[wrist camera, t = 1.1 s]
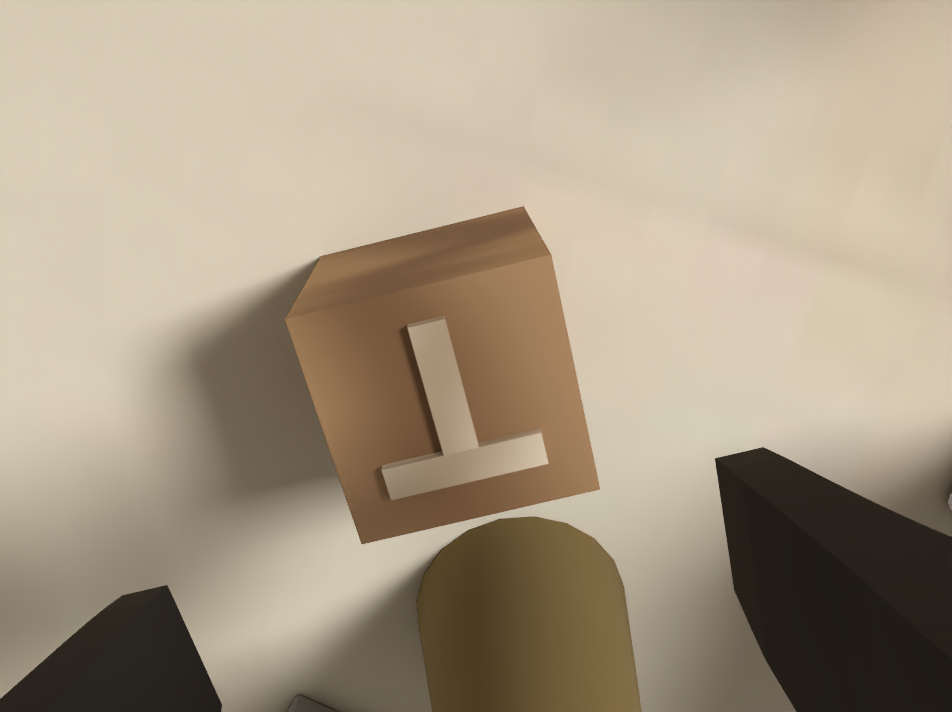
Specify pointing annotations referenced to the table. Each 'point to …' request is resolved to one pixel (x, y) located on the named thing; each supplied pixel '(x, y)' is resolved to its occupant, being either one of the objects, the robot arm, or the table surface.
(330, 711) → the mat
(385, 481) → the letter cube
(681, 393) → the table surface
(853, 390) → the table surface
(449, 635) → the cork
